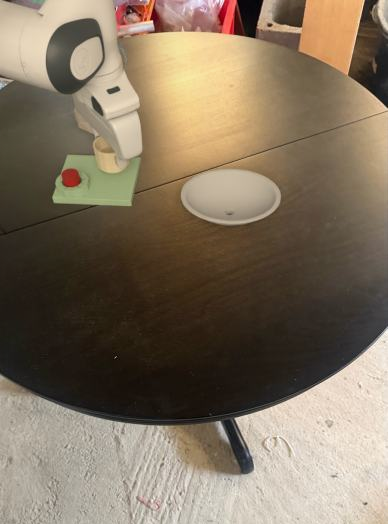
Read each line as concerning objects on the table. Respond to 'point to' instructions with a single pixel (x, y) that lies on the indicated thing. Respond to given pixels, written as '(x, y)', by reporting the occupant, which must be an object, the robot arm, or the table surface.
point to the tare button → (70, 177)
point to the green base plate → (97, 183)
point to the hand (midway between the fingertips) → (111, 154)
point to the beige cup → (106, 156)
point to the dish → (230, 196)
